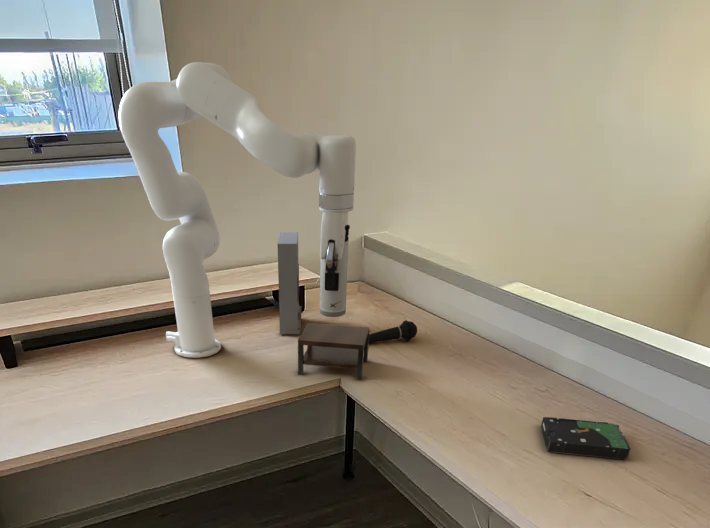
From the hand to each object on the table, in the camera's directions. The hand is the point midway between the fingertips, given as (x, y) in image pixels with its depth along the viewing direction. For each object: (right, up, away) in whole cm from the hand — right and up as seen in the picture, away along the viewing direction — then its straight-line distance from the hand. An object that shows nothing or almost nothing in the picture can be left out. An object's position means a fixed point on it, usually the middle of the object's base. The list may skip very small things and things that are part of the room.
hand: (334, 285), depth 131 cm
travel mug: (0, -6, +4) cm, 7 cm away
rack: (0, -17, +12) cm, 21 cm away
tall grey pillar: (-11, 0, +36) cm, 37 cm away
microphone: (+15, -7, +26) cm, 31 cm away
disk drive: (+49, -39, -18) cm, 65 cm away
